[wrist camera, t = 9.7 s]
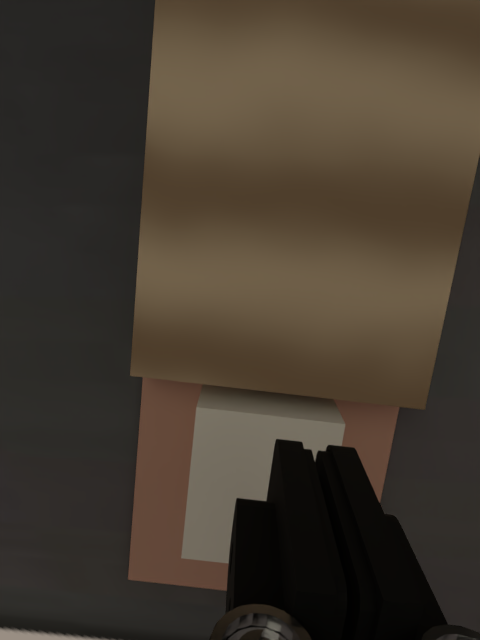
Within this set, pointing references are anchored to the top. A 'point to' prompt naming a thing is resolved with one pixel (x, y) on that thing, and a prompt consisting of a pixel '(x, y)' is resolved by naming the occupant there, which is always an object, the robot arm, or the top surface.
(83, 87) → the top surface
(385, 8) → the oak board
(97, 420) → the top surface
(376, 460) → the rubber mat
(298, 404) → the cream block
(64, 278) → the top surface
